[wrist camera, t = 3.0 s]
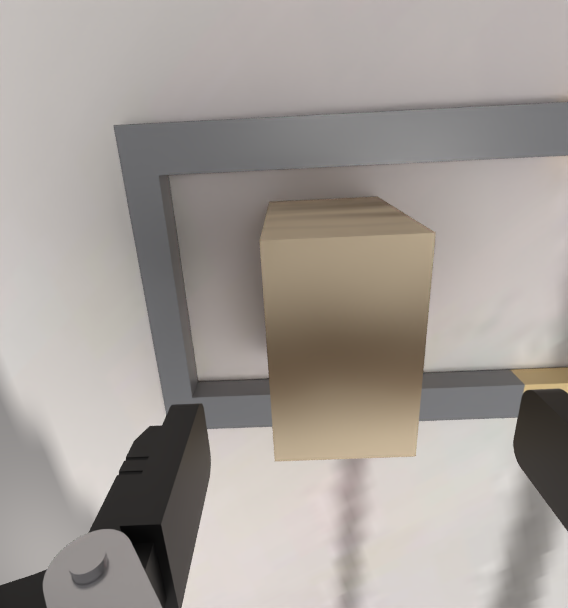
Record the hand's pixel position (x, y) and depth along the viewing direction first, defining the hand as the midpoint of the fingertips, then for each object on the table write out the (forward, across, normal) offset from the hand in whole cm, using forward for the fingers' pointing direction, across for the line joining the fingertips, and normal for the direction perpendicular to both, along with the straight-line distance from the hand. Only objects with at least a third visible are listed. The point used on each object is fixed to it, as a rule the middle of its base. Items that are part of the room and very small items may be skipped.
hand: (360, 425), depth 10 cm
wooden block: (+11, 0, 0) cm, 11 cm away
